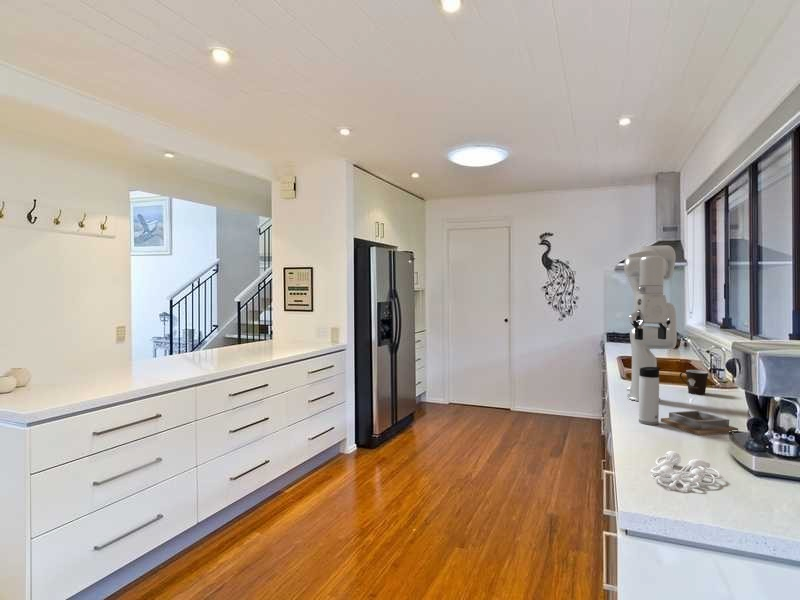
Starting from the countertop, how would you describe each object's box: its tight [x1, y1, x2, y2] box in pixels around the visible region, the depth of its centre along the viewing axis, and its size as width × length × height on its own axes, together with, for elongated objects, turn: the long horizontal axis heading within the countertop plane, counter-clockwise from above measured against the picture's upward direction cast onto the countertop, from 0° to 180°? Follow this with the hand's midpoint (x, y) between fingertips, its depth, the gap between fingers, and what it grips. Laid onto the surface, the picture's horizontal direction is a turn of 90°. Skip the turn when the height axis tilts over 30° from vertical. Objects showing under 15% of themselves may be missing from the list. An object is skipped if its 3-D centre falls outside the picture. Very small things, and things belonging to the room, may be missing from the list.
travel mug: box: [638, 366, 661, 426], centre depth 167 cm, size 6×7×20 cm
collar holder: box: [660, 409, 739, 436], centre depth 162 cm, size 16×16×4 cm
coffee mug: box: [679, 369, 709, 396], centre depth 215 cm, size 12×9×10 cm
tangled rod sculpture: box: [649, 450, 722, 493], centre depth 118 cm, size 19×14×4 cm
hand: (650, 339), depth 166 cm, fingers open, 9 cm apart
